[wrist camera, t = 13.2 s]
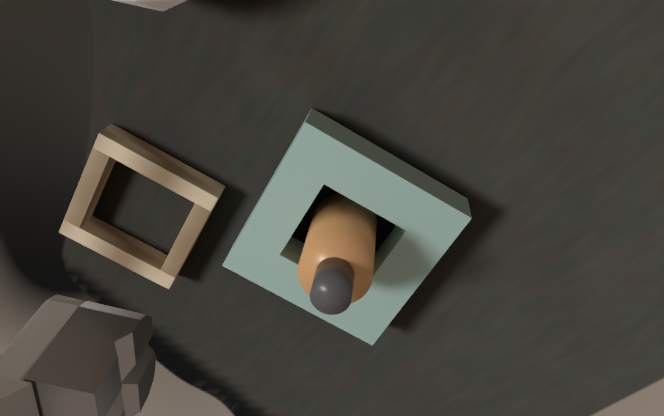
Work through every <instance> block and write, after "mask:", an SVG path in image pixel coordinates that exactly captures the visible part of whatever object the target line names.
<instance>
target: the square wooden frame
mask: <svg viewBox="0 0 664 416" xmlns="http://www.w3.org/2000/svg"><path fill="white" fill-rule="evenodd" d="M116 160H117V161H119V162H120V163H122V164H124V165H126V166H128V167H130V168H131V169H133V170H135V171H137V172H139V173H141V174H142V175H144V176H146V177H148V178H150V179H152V180H154V181H155V182H157V183H159V184H161V185H163V186H165V187H166V188H168V189H170V190H172V191H174V192H176V193H177V194H179V195H181V196H183V197H185V198H187V199H189V200H190V201H192V202H194V203H195V204H194V206H193V208H192V210H191V212H190V214H189V216H188V218H187V220H186V221H185V223H184V225H183V227H182V229H181V231H180V233H179V235H178V237H177V239H176V241H175V243H174V245H173V247H172V248H171V250H170V252H169V254H168V255H166V254H164V253H162V252H161V251H159V250H157V249H155V248H153V247H151V246H149V245H147V244H145V243H143V242H142V241H140V240H138V239H136V238H134V237H132V236H130V235H128V234H126V233H124V232H123V231H121V230H119V229H117V228H115V227H113V226H111V225H109V224H107V223H105V222H104V221H102V220H100V219H98V218H96V217H94V216H92V215H93V212H94V210H95V208H96V205H97V203H98V201H99V198H100V196H101V194H102V191H103V189H104V187H105V184H106V182H107V180H108V177H109V175H110V173H111V170H112V168H113V166H114V163H115V161H116ZM224 188H225V186H224V185H222V184H221V183H219V182H217V181H215V180H213V179H212V178H210V177H208V176H206V175H204V174H202V173H201V172H199V171H197V170H195V169H193V168H192V167H190V166H188V165H186V164H184V163H183V162H181V161H179V160H177V159H175V158H173V157H172V156H170V155H168V154H166V153H164V152H163V151H161V150H159V149H157V148H155V147H153V146H152V145H150V144H148V143H146V142H144V141H143V140H141V139H139V138H137V137H135V136H134V135H132V134H130V133H128V132H126V131H124V130H123V129H121V128H119V127H117V126H115V125H114V124H111V125H109V126H108V127H107V128H105V129H104V130H102V131H101V132H100V133H99V134H98V137H97V139H96V142H95V144H94V147H93V149H92V151H91V154H90V156H89V159H88V161H87V164H86V166H85V169H84V171H83V174H82V176H81V179H80V181H79V184H78V186H77V189H76V191H75V193H74V196H73V199H72V201H71V204H70V206H69V208H68V211H67V213H66V216H65V218H64V221H63V223H62V226H61V228H60V230H59V233H61V234H63V235H65V236H67V237H69V238H71V239H72V240H74V241H76V242H78V243H80V244H82V245H84V246H86V247H88V248H90V249H92V250H94V251H96V252H98V253H99V254H101V255H103V256H105V257H107V258H109V259H111V260H113V261H115V262H117V263H119V264H121V265H123V266H125V267H126V268H128V269H130V270H132V271H134V272H136V273H138V274H140V275H142V276H144V277H146V278H148V279H150V280H152V281H153V282H155V283H157V284H159V285H161V286H163V287H165V288H167V289H169V288H170V287H171V285H172V284H173V282H174V280H175V279H176V277H177V276H178V274H179V272H180V270H181V268H182V266H183V265H184V263H185V261H186V259H187V257H188V255H189V253H190V252H191V250H192V248H193V246H194V244H195V242H196V240H197V239H198V237H199V235H200V233H201V231H202V229H203V227H204V226H205V224H206V222H207V220H208V218H209V216H210V214H211V213H212V211H213V209H214V207H215V205H216V203H217V201H218V200H219V198H220V196H221V194H222V192H223V190H224Z"/></svg>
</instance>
